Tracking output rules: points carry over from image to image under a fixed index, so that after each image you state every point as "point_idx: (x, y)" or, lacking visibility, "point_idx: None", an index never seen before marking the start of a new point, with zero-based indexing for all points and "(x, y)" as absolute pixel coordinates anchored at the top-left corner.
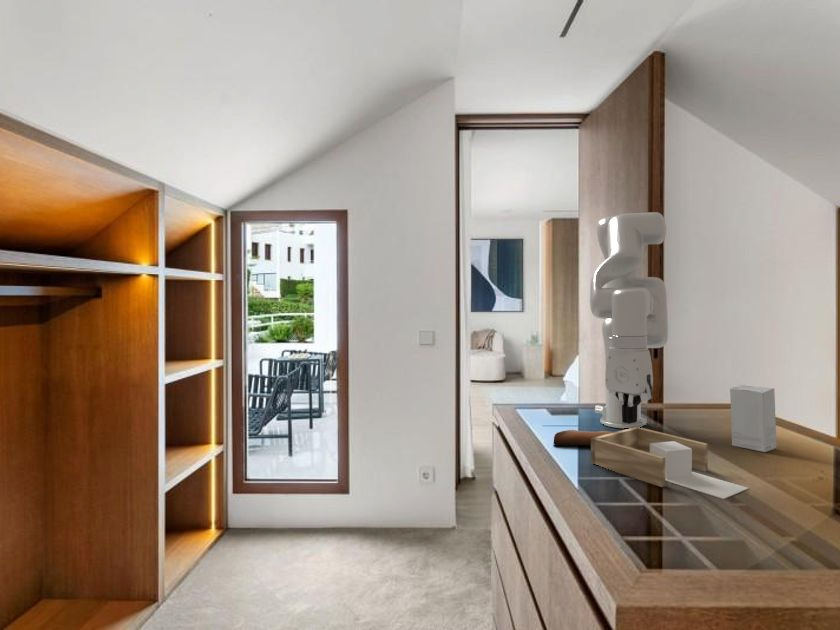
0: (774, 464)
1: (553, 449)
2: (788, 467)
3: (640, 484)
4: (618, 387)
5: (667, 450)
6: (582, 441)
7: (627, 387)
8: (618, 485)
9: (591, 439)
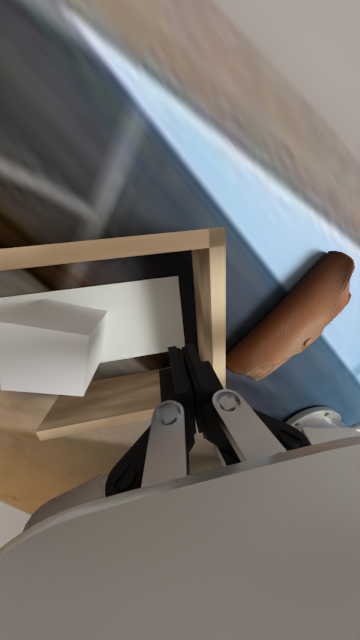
0: (60, 474)
1: (316, 236)
2: (42, 479)
3: (39, 226)
4: (304, 527)
5: (3, 329)
6: (289, 300)
7: (148, 624)
8: (49, 167)
9: (222, 227)
